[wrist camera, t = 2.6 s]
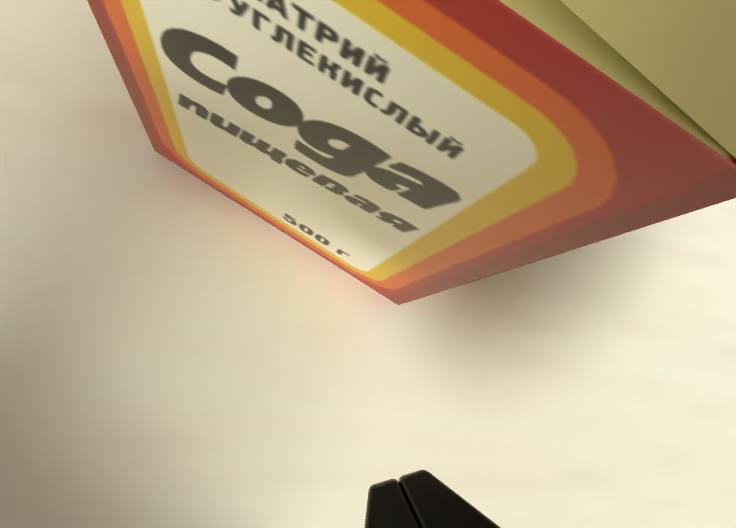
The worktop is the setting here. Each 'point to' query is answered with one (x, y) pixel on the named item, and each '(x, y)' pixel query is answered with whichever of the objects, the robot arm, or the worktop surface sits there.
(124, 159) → the worktop surface
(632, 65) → the baking soda box
